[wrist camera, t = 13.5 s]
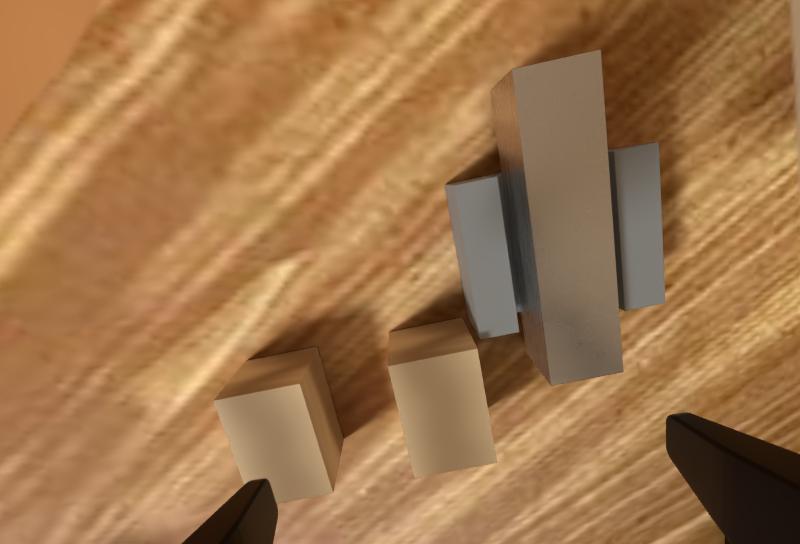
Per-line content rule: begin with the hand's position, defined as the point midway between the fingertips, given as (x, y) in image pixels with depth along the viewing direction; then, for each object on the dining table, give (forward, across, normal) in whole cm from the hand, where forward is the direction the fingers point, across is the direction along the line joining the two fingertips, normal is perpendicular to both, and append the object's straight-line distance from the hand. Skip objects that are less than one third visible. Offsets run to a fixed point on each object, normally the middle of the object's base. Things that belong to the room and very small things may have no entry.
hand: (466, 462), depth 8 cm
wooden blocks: (+12, +4, +4) cm, 13 cm away
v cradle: (+12, -6, -2) cm, 13 cm away
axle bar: (+11, -6, -3) cm, 13 cm away
